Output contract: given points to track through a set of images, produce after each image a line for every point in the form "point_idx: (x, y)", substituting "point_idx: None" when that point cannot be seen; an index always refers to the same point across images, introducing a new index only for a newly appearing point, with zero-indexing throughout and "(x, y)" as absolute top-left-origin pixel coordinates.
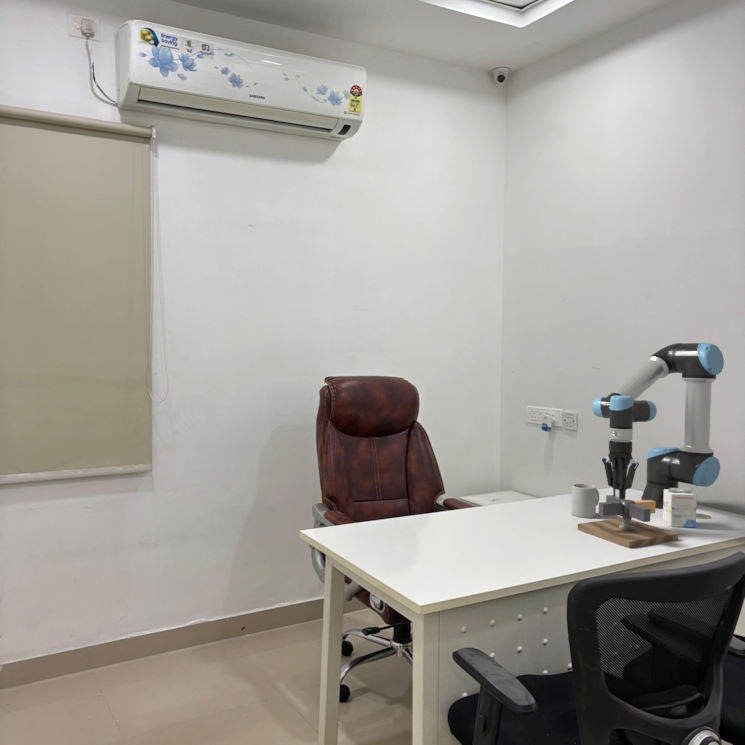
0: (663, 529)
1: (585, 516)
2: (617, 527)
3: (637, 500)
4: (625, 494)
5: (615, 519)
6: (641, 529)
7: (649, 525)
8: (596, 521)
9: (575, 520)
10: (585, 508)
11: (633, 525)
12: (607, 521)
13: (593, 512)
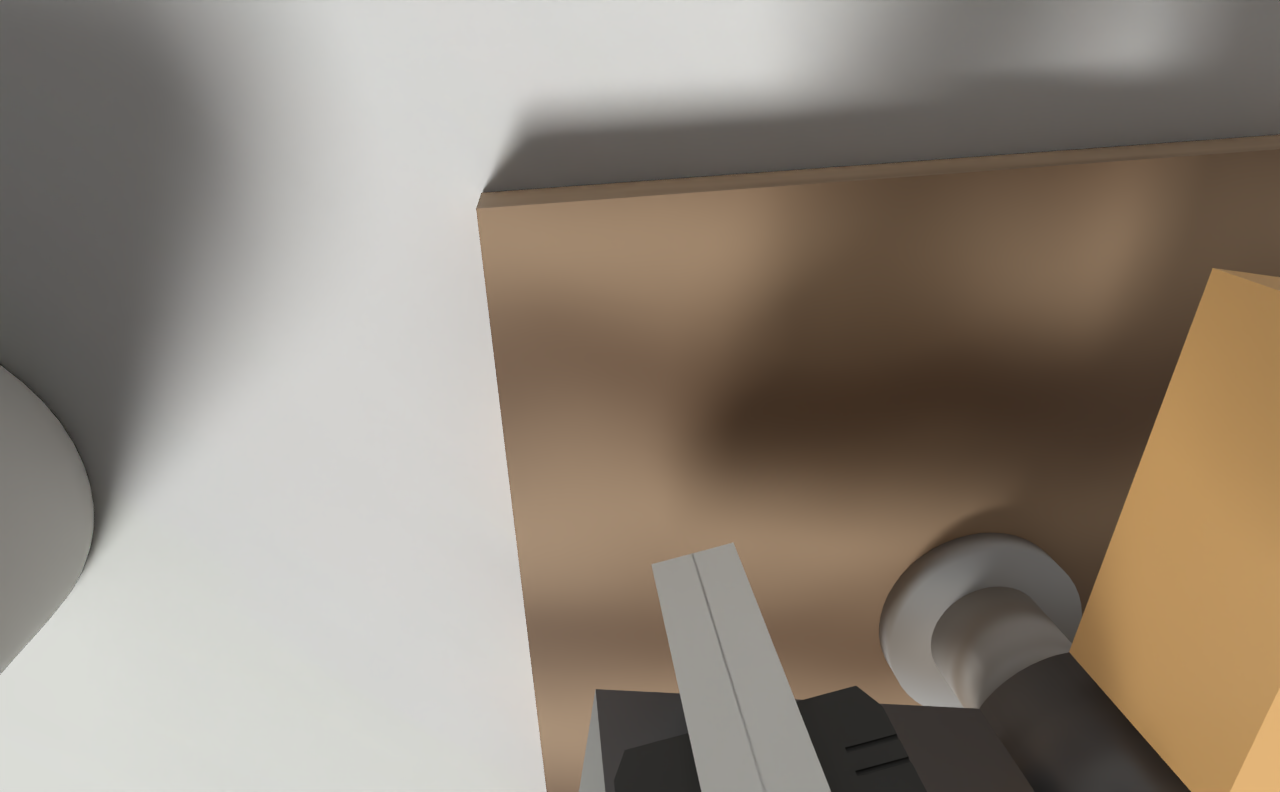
0: (1266, 159)
1: (75, 583)
2: (880, 683)
3: (1274, 701)
4: (911, 766)
5: (546, 448)
6: (1093, 467)
7: (1022, 192)
8: (549, 750)
9: (180, 746)
10: (3, 663)
11: (908, 428)
12: (599, 623)
13: (38, 486)
